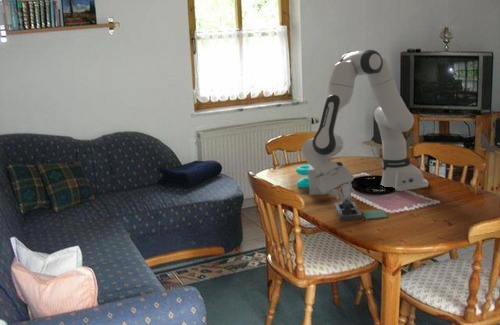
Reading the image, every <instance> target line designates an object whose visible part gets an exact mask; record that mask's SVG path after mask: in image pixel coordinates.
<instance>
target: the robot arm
mask: <svg viewBox="0 0 500 325" xmlns="http://www.w3.org/2000/svg"><path fill="white" fill-rule="evenodd" d="M365 75H366V76H367V80H368V82H369V86H370V89H371V92H372V95H373V97H374V100H375V102H376V103H377V104H378V107H376V108H375V111H374V115H373V118H374V120H375V121H376V124H377V126H378V130H379V134H380V138H381V143H382V157H381V168H382V169H381V170H382V176H381V181H380V185H382V186H384V187H393V188H395V190H394V191H397V192H404V191H411V190H416V189H421V188H422V189H423V188H428V187H429V182H428V180H427V179H425V178H424V174H423V173H422V171H421V170H420V169H419V168H418V167H416V166H415V165H413V164H414V159H413V158H412V157H409V156H408V155H407V140H406V138H405V136H404V134H403V133H404V132H408V131H409V130H410V129H412V128H413V126H414V123H415V118H414V115H413V114H412V113H411V112H410V110H409V109H408V107H407V106H406V103H405V102H404V100H403V98H402V96H401V95H400V93H399V90H398V87H397V84H396V81H395V78H394V75H393V72H392V69H391V67H390V65H389V63H388V61H387V60H386V58H385V57H383V56H382V55H381V53H379V52H378V51H376V50H374V49H358V50H356V51H355V50H354V51H348V52H345V53H344V54H343V55H342V56H341V57H340V59H339V61H338V62H336V63H335V64H334V66H333V68H332V71H331V74H330V78H329V81H328V87H327V92H326V93H327V94H326V98H325V99H326V100H325V103H324V107H323V111H322V114H321V115H322V116H321V119H320V121H319V122H320V124H319V127H318V130H317V131H316V133H315V134H314V136H313V138H309V139H307V140H306V141H304V142H303V144H302V146H301V149H300V150H301V154H302V156H303V157H304V160H306V162H307V163H308V165H311V166H312V167H313V168H314V171H315V172H316V173H317V175H316V176H315V177H314V180H315V182H316V184H317V186H318V188H319V189H320V191H321V192H322V193H323V194H324V195H327V194H330V195H331V196H332V197H335V199H336V200H341V195H340V193H337V192H336V190H338V189H340V184H342V183H349V184H351V194H352V193H354V192H355V189H354V188H353V185H352V182H353V181H354V175H353V174H352V172H351V171H350V170H349V169H348V168H347V167H345V164H344V162H342V161H335V160H333V161H332V159H331V158H332V157H334V156H336V155H337V154H339V153H340V152H342V150H343V146H344V141H343V139H342V137H341V136H340V135H337V134H336V133H335V126H336V123H337V119H338V114H339V112H340V111H341V109H343V108H345V107H346V106H347V105H348V104H350V102H351V100H352V97H353V94H354V88H355V80H356V78H357V76H365Z"/></svg>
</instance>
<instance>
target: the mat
mask: <svg viewBox="0 0 500 325" xmlns="http://www.w3.org/2000/svg"><path fill="white" fill-rule="evenodd" d="M361 214H362V216H363V217H364V219H365V221H366V220H367V221H368V220H378V219H388V216H387V214H386V212H385V211H384V209H382V208H381V209H380V208H379V209H372V210H371V209H370V210H361Z"/></svg>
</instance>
